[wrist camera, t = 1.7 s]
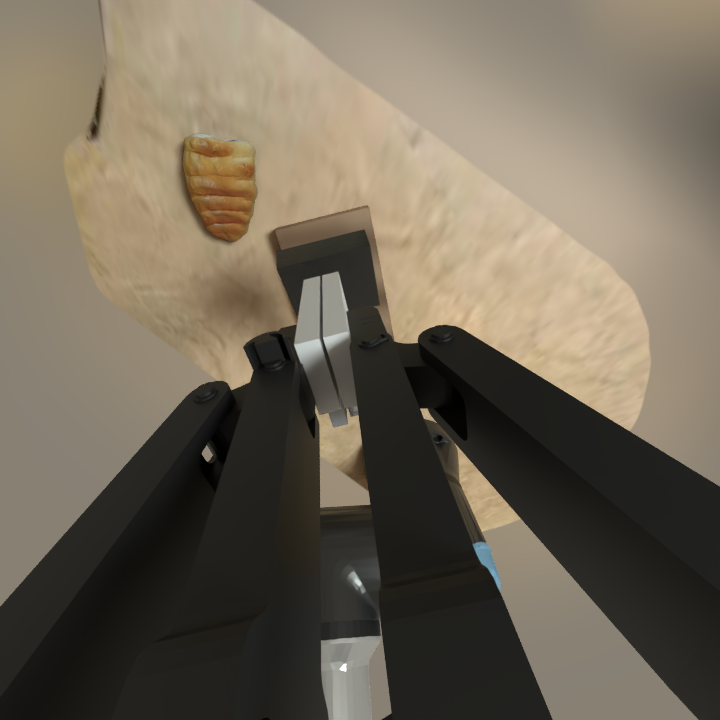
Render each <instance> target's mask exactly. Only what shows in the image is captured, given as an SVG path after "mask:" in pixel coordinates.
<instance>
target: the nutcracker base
mask: <svg viewBox="0 0 720 720" xmlns="http://www.w3.org/2000/svg"><path fill="white" fill-rule="evenodd" d="M363 229H365V232H366V235H367V238H368V240H369V243H370V247H371V253H372V259H373V265H374V271H375V278H376V284H377V290H378V296H379V302H380V305H379V306H375V308H377V309H378V311H379V313H380V316H381V318H382V321H383V323H384V326H385V329H386V331H387V333H389V334H390V335H391V336H392V339H393V341H394V336H393V331H392V326H391V320H390V315H389V310H388V304H387V299H386V294H385V288H384V283H383V278H382V272H381V267H380V262H379V257H378V251H377V246H376V241H375V235H374V230H373V225H372V219H371V214H370V209H369V207H368V206H367V205H366V206H362V207H358V208H354V209H350V210H346V211H342V212H338V213H334V214H330V215H326V216H322V217H318V218H314V219H310V220H306V221H302V222H298V223H295V224H291V225H287V226H283V227H279V228H277V229H276V230H275V233H276V236H277V239H278V242H279V245H280V248H281V250H283V249H287V248H291V247H295V246H299V245H303V244H307V243H311V242H315V241H319V240H323V239H327V238H331V237H335V236H339V235H343V234H347V233H351V232H355V231H359V230H363ZM340 400H341V410H338V411H333V412H329V416H330V419H331V422H332V425H333V427H338V426H342V425H346V424H348V420H347V411H346V409H345V408H344V404H343V401H342V398H341V395H340Z"/></svg>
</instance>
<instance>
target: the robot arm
mask: <svg viewBox="0 0 720 720" xmlns="http://www.w3.org/2000/svg"><path fill="white" fill-rule="evenodd" d="M243 348H244V350H245V352H246V355H247V357H248V359H249V361H250V363H251V366H252V368H253V370H254V371H253V374H252V378H251V381H250V383H248V384H245V385H243V386H241V387H239V388H236V389H234V390H231V389H230V387H229V385H228V383H226V382H224V381H215V382H208V383H206V384H205V385H204V384H203V385H201V386H199V387H198V388H197V389H195V390H194V391H192V392H191V393H190V394H189V395H188V396H186V398H185V399H184V400H183V401H182V402H181V403H180V404H179V405H178V406H177V408H176V409H175V410H174V411H173V412H172V413H171V414H170V416H169V417H168V418H167V419H166V420H165V421H164V422H163V423H162V425H161V426H160V427H159V428H158V429H157V430H156V431H155V432H154V434H153V435H152V436H151V437H150V438H149V439H148V440H147V441H146V443H145V444H144V445H143V446H142V447H141V448H140V449H139V451H138V452H137V453H136V454H135V455H134V456H133V457H132V459H131V460H130V461H129V462H128V463H127V464H126V465H125V466H124V467H123V469H122V470H121V471H120V472H119V473H118V474H117V475H116V477H115V478H114V479H113V480H112V481H111V482H110V483H109V485H108V486H107V487H106V488H105V489H104V490H103V491H102V492H101V494H100V495H99V496H98V497H97V498H96V499H95V500H94V501H93V503H92V504H91V505H90V506H89V507H88V508H87V509H86V511H85V512H84V513H83V514H82V515H81V516H80V517H79V518H78V519H77V521H76V522H75V523H74V524H73V525H72V527H70V529H69V530H68V531H67V532H66V533H65V534H64V535H63V536H62V538H61V539H60V540H59V541H58V542H57V543H56V544H55V546H54V547H53V548H52V549H51V550H50V551H49V552H48V554H47V555H46V556H45V557H44V558H43V559H42V560H41V561H40V562H39V564H38V565H37V566H36V567H35V568H34V569H33V570H32V571H31V573H30V574H29V575H28V576H27V577H26V578H25V579H24V581H23V582H22V583H21V584H20V585H19V586H18V587H17V588H16V590H15V591H14V592H13V593H12V594H11V595H10V596H9V598H8V599H7V600H6V601H5V602H4V603H3V604H2V606H0V720H372V710H371V696H370V681H369V668H368V664H369V661H370V658H371V656H372V654H373V653H374V651H375V649H376V647H377V646H378V644H379V643H380V641H381V635H380V623H379V619H380V620H381V629H382V636H383V645H384V653H385V661H386V669H387V678H388V686H389V694H390V702H391V710H392V714H390V715H388V716H387V717H385V718H384V719H382V720H552V718H551V715H550V712H549V710H548V708H547V705H546V703H545V700H544V698H543V695H542V693H541V691H540V688H539V686H538V683H537V681H536V678H535V676H534V673H533V671H532V669H531V666H530V664H529V661H528V659H527V657H526V654H525V652H524V649H523V647H522V645H521V642H520V639H519V637H518V634H517V632H516V630H515V627H514V625H513V622H512V620H511V617H510V615H509V613H508V610H507V608H506V605H505V603H504V600H503V598H502V596H501V593H500V577H499V574H498V571H497V569H496V566H495V563H494V561H493V558H492V555H491V549H490V547H489V545H488V544H487V543H486V541H485V539H484V536H483V534H482V532H481V529H480V527H479V525H478V523H477V521H476V518H475V516H474V514H473V512H472V509H471V507H470V505H469V503H468V500H467V498H466V496H465V494H464V492H463V489H462V487H461V485H460V482H459V463H458V451H457V448H456V445H457V446H458V447H459V448H460V449H461V451H462V452H463V453H464V454H465V455H466V456H467V457H468V459H469V460H470V461H471V462H472V463H473V464H474V465H475V467H476V468H477V469H478V470H479V471H480V472H481V473H482V475H483V476H484V477H485V478H486V479H487V480H488V481H489V483H490V484H491V485H492V486H493V487H494V488H495V489H496V491H497V492H498V493H499V494H500V495H501V496H502V497H503V499H504V500H505V501H506V502H507V503H508V504H509V505H510V507H511V508H512V509H513V510H514V511H515V512H516V513H517V515H518V516H519V517H520V518H521V519H522V520H523V521H524V523H525V524H526V525H527V526H528V527H529V528H530V529H531V530H532V532H533V533H534V534H535V535H536V536H537V537H538V539H539V540H540V541H541V542H542V543H543V544H544V545H545V547H546V548H547V549H548V550H549V551H550V552H551V553H552V554H553V556H554V557H555V558H556V559H557V560H558V561H559V563H560V564H561V565H562V566H563V567H564V568H565V569H566V571H567V572H568V573H569V574H570V575H571V576H572V577H573V578H574V580H575V581H576V582H577V583H578V584H579V585H580V587H581V588H582V589H583V590H584V591H585V592H586V593H587V595H588V596H589V597H590V598H591V599H592V600H593V601H594V603H595V604H596V605H597V606H598V607H599V608H600V609H601V610H602V612H603V613H604V614H605V615H606V616H607V617H608V619H609V620H610V621H611V622H612V623H613V624H614V625H615V627H616V628H617V629H618V630H619V631H620V632H621V633H622V634H623V636H624V637H625V638H626V639H627V640H628V641H629V643H630V644H631V645H632V646H633V647H634V648H635V649H636V651H637V652H638V653H639V654H640V655H641V656H642V657H643V658H644V660H645V661H646V662H647V663H648V664H649V665H650V667H651V668H652V669H653V670H654V671H655V672H656V673H657V675H658V676H659V677H660V678H661V679H662V680H663V681H664V683H666V685H667V686H668V687H669V688H670V689H671V690H672V691H673V693H674V694H675V695H676V696H677V697H678V698H679V699H680V700H681V701H682V702H683V703H684V704H685V705H686V707H687V708H688V709H689V710H690V711H691V712H692V713H693V714H694V715H695V716H696V717H697V718H698V719H699V720H720V487H719V486H718V485H716V484H715V483H713V482H711V481H709V480H708V479H706V478H705V477H703V476H701V475H700V474H698V473H697V472H695V471H693V470H692V469H690V468H688V467H687V466H685V465H684V464H682V463H680V462H679V461H677V460H675V459H674V458H672V457H670V456H669V455H667V454H665V453H664V452H662V451H660V450H659V449H657V448H655V447H654V446H652V445H651V444H649V443H648V442H646V441H644V440H643V439H641V438H639V437H638V436H636V435H634V434H633V433H631V432H630V431H628V430H626V429H625V428H623V427H621V426H620V425H618V424H617V423H615V422H613V421H612V420H610V419H608V418H607V417H605V416H603V415H602V414H600V413H599V412H597V411H595V410H594V409H592V408H590V407H589V406H587V405H585V404H584V403H582V402H581V401H579V400H577V399H576V398H574V397H572V396H571V395H569V394H568V393H566V392H564V391H563V390H561V389H559V388H558V387H556V386H554V385H553V384H551V383H550V382H548V381H546V380H545V379H543V378H541V377H540V376H538V375H536V374H535V373H533V372H532V371H530V370H528V369H527V368H525V367H523V366H522V365H520V364H519V363H517V362H515V361H514V360H512V359H510V358H509V357H507V356H505V355H504V354H502V353H501V352H499V351H497V350H496V349H494V348H492V347H491V346H489V345H487V344H486V343H484V342H483V341H481V340H479V339H478V338H476V337H474V336H473V335H471V334H469V333H468V332H466V331H465V330H463V329H461V328H459V327H456V326H449V325H442V326H441V325H439V326H435V327H432V328H429V329H427V330H425V331H423V332H422V333H421V334H420V335H419V337H418V343H413V344H403V343H398V342H394V341H393V339H392V336H391V335H390V334H389V333H387V331H386V329H385V326H384V323H383V321H382V318H381V316H380V313H379V311H378V309H377V308H375V307H373V306H367V307H362V308H358V309H354V310H350V311H348V308H347V304H346V300H345V296H344V292H343V288H342V284H341V280H340V276H339V273H338V272H334V273H330V274H326V275H322V282H321V279H320V276H318V277H314V278H310V279H306V280H304V282H303V288H302V295H301V302H300V308H299V315H298V322H297V325H293V326H289V327H285V328H281V329H280V330H279V331H274V332H268V333H265V334H262V335H259V336H257V337H255V338H253V339H251V340H250V341H249V342H247V343H246V344H245V346H244V347H243ZM340 395H341V398H342V401H343V404H344V408H345V409H346V408H350V407H354V406H357V407H358V415H359V422H360V429H361V437H362V444H363V467H364V473H365V476H366V479H367V481H368V489H369V496H370V503H371V505H360V506H343V507H325V508H320V459H319V458H320V447H319V422H318V419H317V416H316V414H315V404H316V407H317V410H318V412H319V415H321V414H325V413H329V412H333V411H338V410H341V400H340ZM420 408H428V411H429V413H430V415H431V416H432V417H433V418H434V420H435V421H436V422H437V423H435V422H433V421H429V420H424V418H423V416H422V413H421V410H420ZM454 442H455V443H454ZM455 444H456V445H455ZM206 445H207V446H208V447H209V449H210V451H211V452H212V454H213V456H212V458H211V459H210V461H209V462H207V461H206V460H205V459H204V457H203V456H202V454H201V453H202V451H203V449H204V448H205V446H206Z"/></svg>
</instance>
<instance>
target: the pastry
mask: <svg viewBox="0 0 720 720" xmlns="http://www.w3.org/2000/svg"><path fill="white" fill-rule="evenodd" d="M254 157H255V149H254V146H253V145H252V144H251V143H250V142H248V141H243V140H238V139H237V140H234V139H216V138H213V137H212V136H210V135H207V134H193V135H190V136H188V137H186V138H185V139H184V153H183V170H184V173H185V177H186V181H187V189H188V190H189V192H190V196H191V199H192V201H193V203H194V204H195V207H196V210H197V211H198V212H199V214H200V216H201V217H202V220H203V222H204V224H205V227H206V228H207V229H208V230H209V232H211V233H212V234H213V235H215V236H216V237H218V238H220V239H224V240H230V241H237V240H239V239H240V238H241V237H242V236H243V235H245V234H246V233H247V231H248V227H249V223H250V219H251V217H252V215H253V211H254V203H255V199H256V197H257V193H258V191H257V187H256V184H255V160H254Z"/></svg>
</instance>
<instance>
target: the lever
mask: <svg viewBox="0 0 720 720" xmlns="http://www.w3.org/2000/svg"><path fill="white" fill-rule="evenodd" d="M277 270H278V273H279V275H280V277H281V279H282V282H283V284H284V286H285V289H286V291H287V293H288V296H289V298H290V300H291V303H292V305H293V307H294V310H295V312H296V314H297V317H298V315H299V308H300V302H301V295H302V288H303V282H304V280H306V279H310V278H314V277H318V276H320V279H321V282H322V275H326V274H330V273H334V272H338V273H339V276H340V280H341V284H342V288H343V292H344V296H345V300H346V304H347V308H348V311H350V310H354V309H358V308H362V307H367V306H373V307H375V306H379V305H380V302H379V296H378V290H377V284H376V278H375V271H374V265H373V259H372V253H371V247H370V243H369V240H368V238H367V235H366V232H365V229H363V230H359V231H355V232H351V233H347V234H343V235H339V236H335V237H331V238H327V239H323V240H319V241H315V242H311V243H307V244H303V245H299V246H295V247H291V248H287V249H283V250H279V251H277ZM348 409H349V412H350V415H351V417H352V416H356V415H358V407H357V406H354V407H350V408H348Z"/></svg>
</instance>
